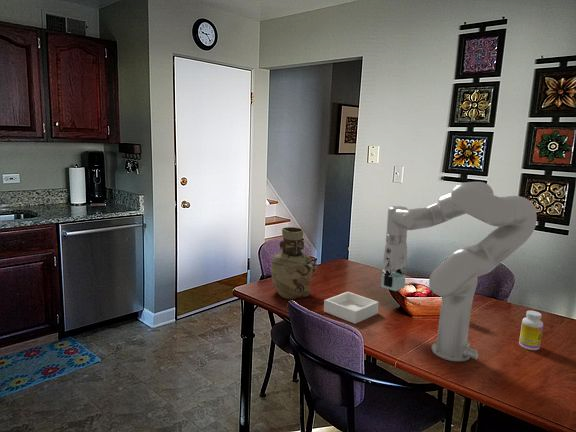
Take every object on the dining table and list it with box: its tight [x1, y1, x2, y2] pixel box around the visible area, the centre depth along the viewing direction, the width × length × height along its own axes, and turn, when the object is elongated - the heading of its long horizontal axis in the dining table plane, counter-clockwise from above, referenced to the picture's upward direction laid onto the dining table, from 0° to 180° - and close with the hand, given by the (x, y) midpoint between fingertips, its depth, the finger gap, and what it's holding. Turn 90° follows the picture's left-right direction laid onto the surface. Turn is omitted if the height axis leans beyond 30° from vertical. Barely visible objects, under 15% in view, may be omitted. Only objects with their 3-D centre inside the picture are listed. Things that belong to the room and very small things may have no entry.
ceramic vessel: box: [270, 226, 318, 300], centre depth 198 cm, size 19×21×30 cm
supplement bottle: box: [518, 310, 544, 351], centre depth 155 cm, size 7×7×13 cm
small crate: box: [380, 271, 407, 292], centre depth 167 cm, size 6×6×5 cm
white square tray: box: [323, 291, 380, 325], centre depth 181 cm, size 16×16×5 cm
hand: (392, 283), depth 167 cm, fingers closed on small crate, 6 cm apart
